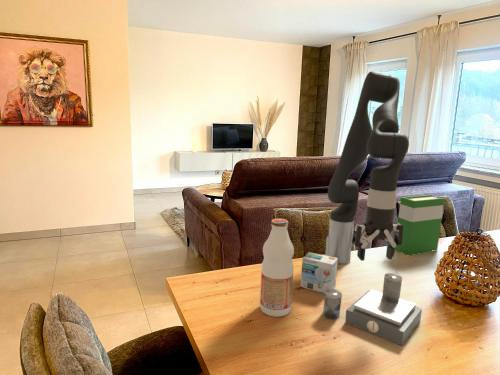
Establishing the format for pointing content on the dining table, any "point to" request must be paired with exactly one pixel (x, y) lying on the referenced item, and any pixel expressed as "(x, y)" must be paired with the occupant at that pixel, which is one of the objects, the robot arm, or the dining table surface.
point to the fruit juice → (277, 271)
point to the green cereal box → (420, 223)
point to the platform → (385, 307)
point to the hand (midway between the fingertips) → (375, 259)
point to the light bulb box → (318, 272)
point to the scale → (384, 324)
